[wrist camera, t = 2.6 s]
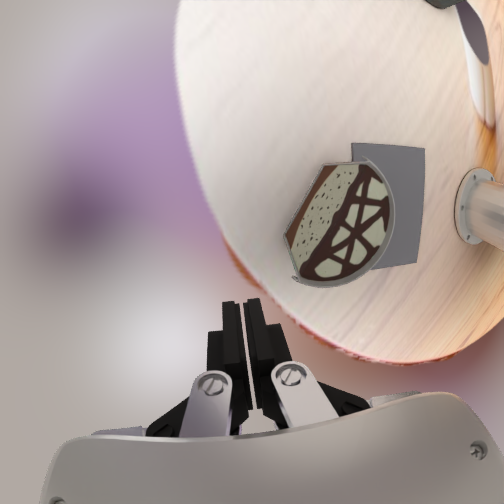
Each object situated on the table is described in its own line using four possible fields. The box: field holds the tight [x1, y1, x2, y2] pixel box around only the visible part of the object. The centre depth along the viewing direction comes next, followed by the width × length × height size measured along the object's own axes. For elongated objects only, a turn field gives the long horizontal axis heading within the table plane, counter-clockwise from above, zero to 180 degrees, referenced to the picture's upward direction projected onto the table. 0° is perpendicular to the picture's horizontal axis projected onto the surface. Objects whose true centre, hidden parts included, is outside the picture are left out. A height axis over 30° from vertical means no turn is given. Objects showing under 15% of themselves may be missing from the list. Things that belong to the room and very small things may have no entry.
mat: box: [352, 143, 425, 270], centre depth 31 cm, size 11×16×1 cm
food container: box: [283, 155, 395, 288], centre depth 26 cm, size 12×6×10 cm, turn 152°
